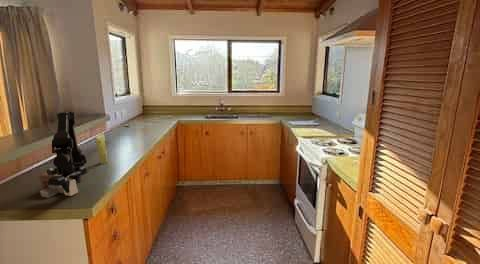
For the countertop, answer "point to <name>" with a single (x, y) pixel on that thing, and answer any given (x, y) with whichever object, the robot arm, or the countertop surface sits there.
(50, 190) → the token
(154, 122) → the countertop surface
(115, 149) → the countertop surface
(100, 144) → the tube
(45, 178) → the brown wooden slab
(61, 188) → the cube on a stick
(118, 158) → the countertop surface
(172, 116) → the countertop surface
